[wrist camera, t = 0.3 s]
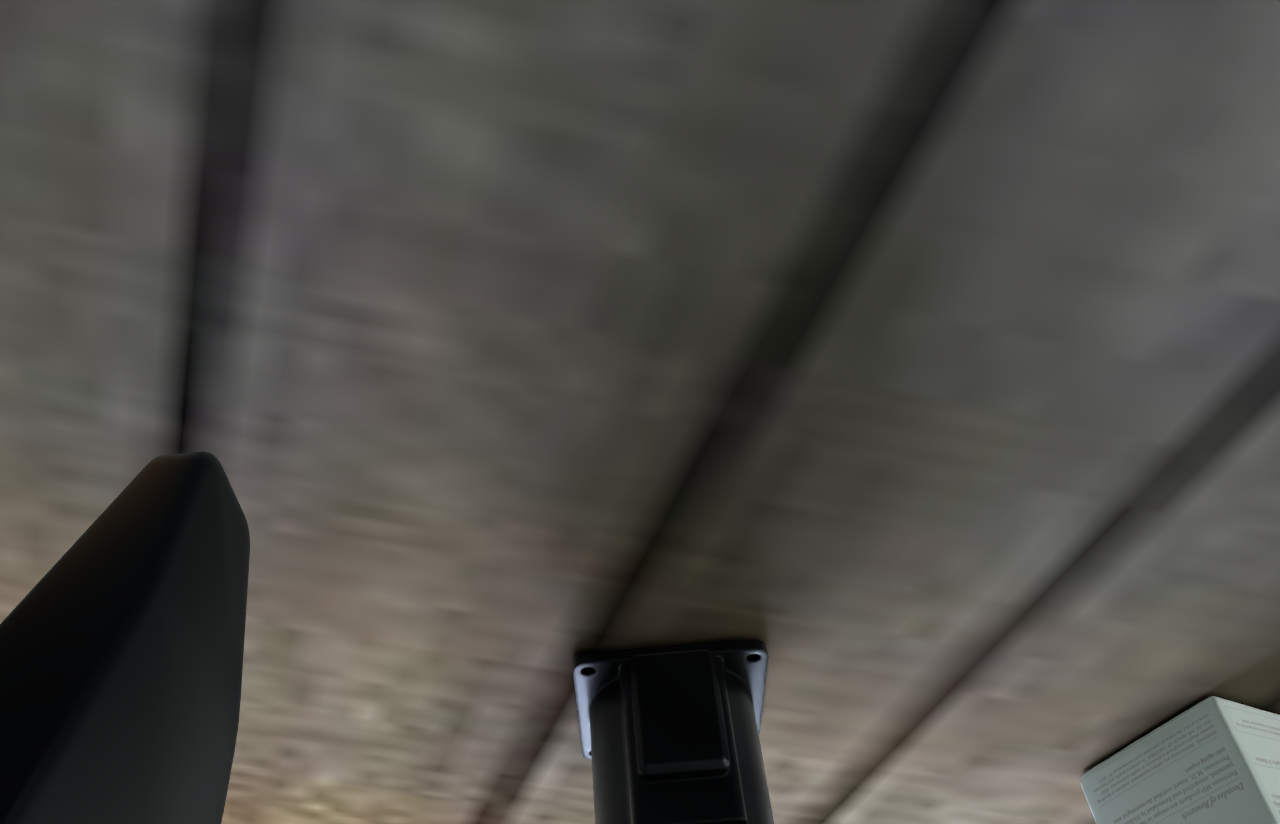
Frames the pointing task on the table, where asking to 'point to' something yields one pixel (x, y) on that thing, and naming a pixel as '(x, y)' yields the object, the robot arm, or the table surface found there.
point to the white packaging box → (1194, 770)
